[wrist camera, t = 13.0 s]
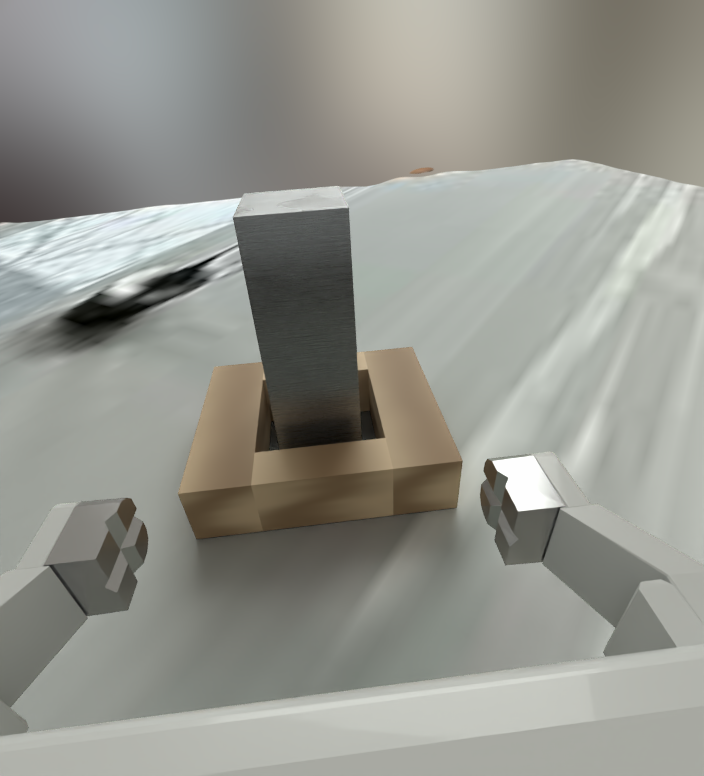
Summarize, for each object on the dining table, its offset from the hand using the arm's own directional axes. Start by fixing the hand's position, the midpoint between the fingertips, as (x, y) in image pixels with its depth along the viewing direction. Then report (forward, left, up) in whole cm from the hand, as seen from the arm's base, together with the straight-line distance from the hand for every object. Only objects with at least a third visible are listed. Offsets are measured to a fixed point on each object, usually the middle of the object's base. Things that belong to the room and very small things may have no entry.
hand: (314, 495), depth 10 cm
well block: (0, +11, -9) cm, 14 cm away
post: (0, +11, -9) cm, 14 cm away
